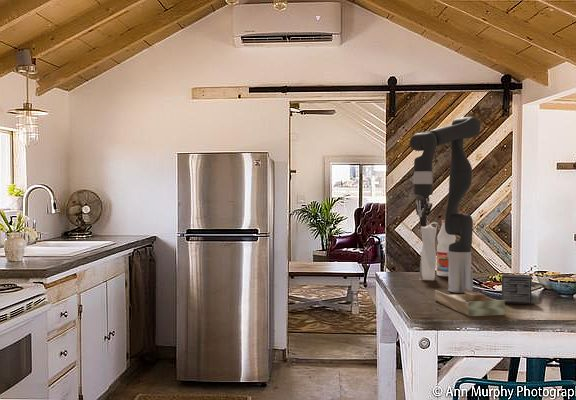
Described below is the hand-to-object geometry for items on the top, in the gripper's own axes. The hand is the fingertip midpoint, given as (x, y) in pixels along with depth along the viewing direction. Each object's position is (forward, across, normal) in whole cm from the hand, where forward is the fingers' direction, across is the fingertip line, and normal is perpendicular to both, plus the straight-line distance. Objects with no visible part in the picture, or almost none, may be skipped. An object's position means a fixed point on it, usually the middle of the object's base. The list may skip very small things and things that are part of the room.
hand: (422, 226), depth 225 cm
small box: (+29, -13, -33) cm, 46 cm away
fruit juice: (+29, +54, -36) cm, 71 cm away
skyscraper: (+30, +44, -22) cm, 57 cm away
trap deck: (+29, -18, -10) cm, 35 cm away
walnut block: (+27, -28, -8) cm, 40 cm away
